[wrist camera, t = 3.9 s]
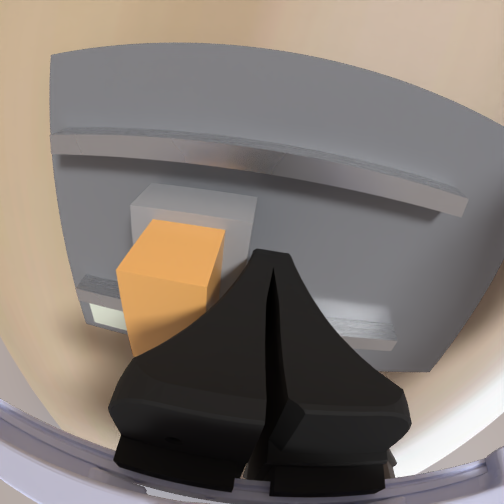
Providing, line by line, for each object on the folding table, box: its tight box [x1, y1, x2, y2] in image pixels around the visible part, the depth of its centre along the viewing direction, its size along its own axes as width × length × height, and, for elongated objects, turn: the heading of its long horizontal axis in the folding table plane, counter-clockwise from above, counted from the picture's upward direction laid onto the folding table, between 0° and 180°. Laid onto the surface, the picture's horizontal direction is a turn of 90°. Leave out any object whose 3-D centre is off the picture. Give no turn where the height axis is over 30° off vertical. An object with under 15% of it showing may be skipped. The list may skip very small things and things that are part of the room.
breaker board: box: [50, 43, 504, 372], centre depth 13 cm, size 22×15×3 cm
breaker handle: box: [116, 183, 257, 357], centre depth 10 cm, size 4×4×5 cm
